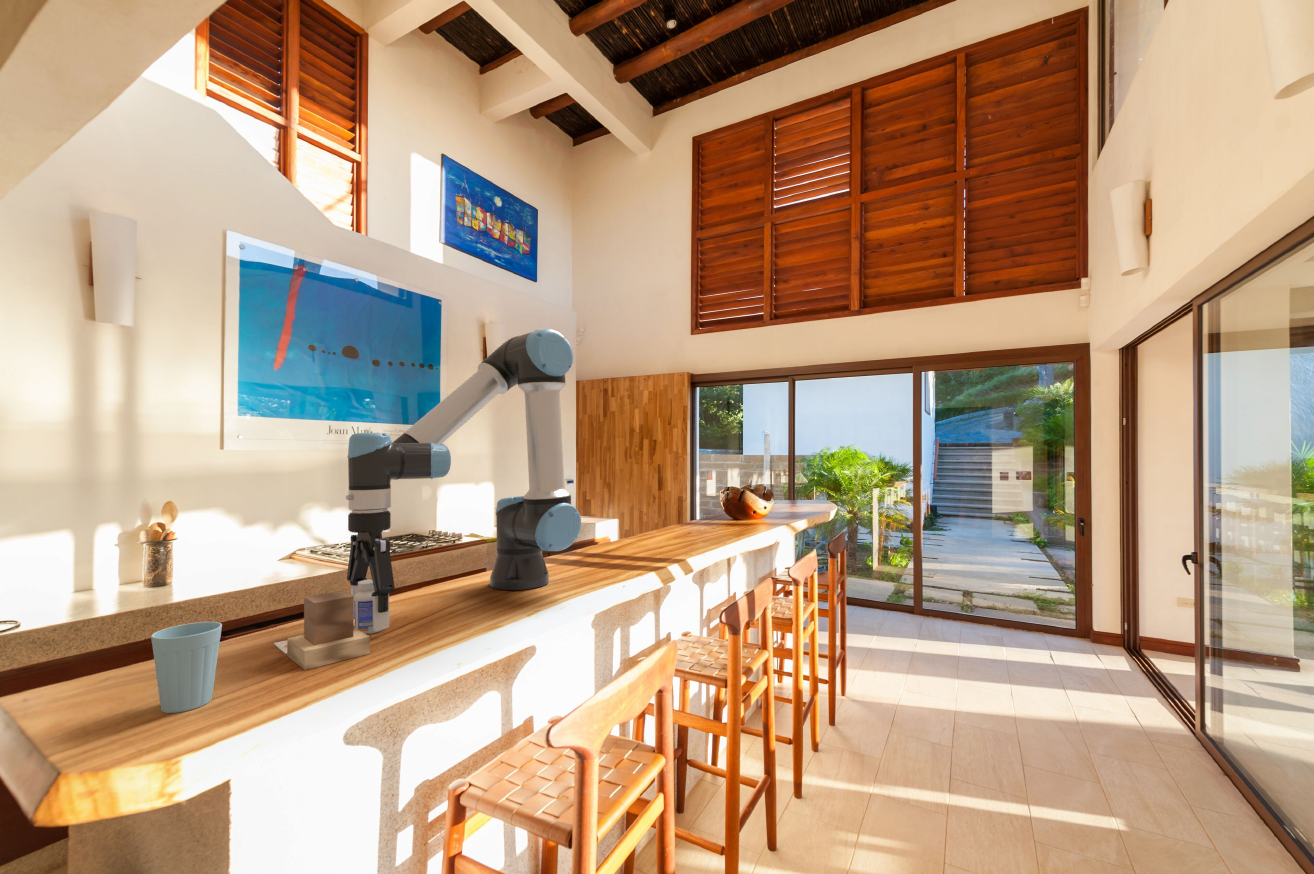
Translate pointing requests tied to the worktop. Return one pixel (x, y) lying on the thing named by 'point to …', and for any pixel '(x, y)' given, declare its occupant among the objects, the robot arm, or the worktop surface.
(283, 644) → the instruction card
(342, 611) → the walnut block
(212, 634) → the cup
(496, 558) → the robot arm
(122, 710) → the worktop surface
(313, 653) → the oak base slab
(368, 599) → the pill bottle
